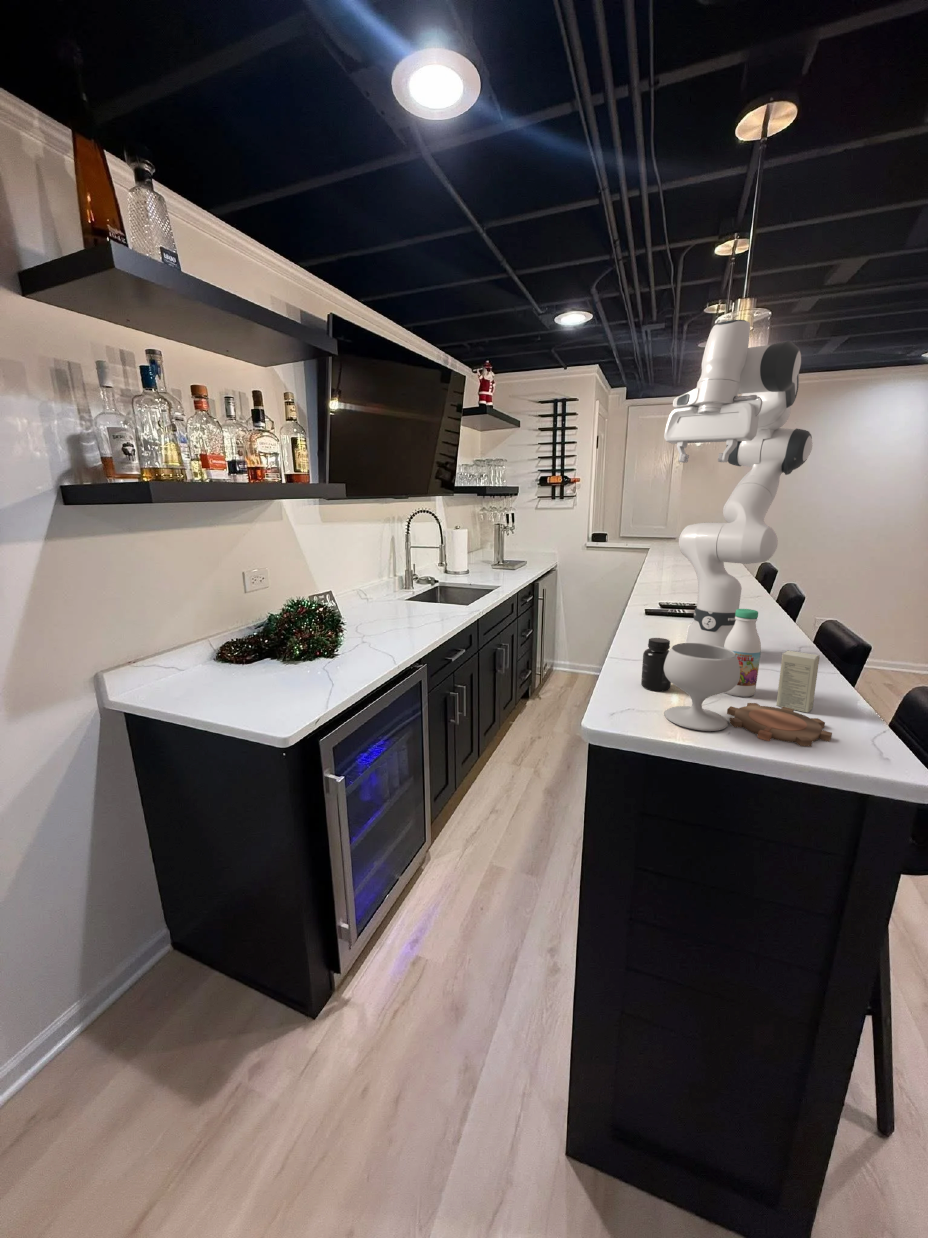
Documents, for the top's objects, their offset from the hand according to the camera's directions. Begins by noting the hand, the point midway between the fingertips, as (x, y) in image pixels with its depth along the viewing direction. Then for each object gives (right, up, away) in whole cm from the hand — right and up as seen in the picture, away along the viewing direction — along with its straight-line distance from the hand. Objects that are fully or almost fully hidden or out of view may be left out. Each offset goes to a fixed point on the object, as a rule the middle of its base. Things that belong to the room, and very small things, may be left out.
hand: (701, 462), depth 115 cm
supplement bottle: (-8, -53, +7) cm, 54 cm away
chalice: (-7, -58, -12) cm, 59 cm away
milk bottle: (+10, -54, +4) cm, 55 cm away
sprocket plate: (+8, -58, -14) cm, 60 cm away
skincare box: (+18, -56, -5) cm, 59 cm away
